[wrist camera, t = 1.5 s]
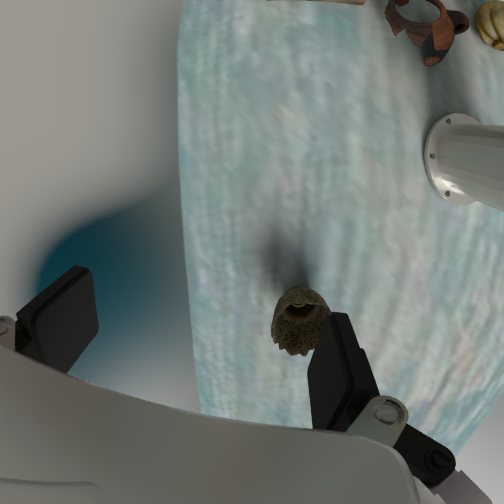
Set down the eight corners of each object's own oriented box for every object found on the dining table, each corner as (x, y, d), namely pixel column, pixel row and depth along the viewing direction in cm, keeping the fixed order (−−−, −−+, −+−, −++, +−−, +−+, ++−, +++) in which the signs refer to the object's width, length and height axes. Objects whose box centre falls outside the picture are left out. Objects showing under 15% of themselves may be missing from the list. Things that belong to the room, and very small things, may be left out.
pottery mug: (410, 78, 29) (408, 41, 22) (375, 30, 30) (365, -8, 23) (479, 58, 24) (488, 22, 16) (441, 11, 25) (441, -25, 18)
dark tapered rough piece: (316, 264, 38) (327, 294, 31) (331, 309, 41) (343, 344, 33) (262, 283, 40) (260, 316, 32) (281, 326, 42) (283, 363, 34)
